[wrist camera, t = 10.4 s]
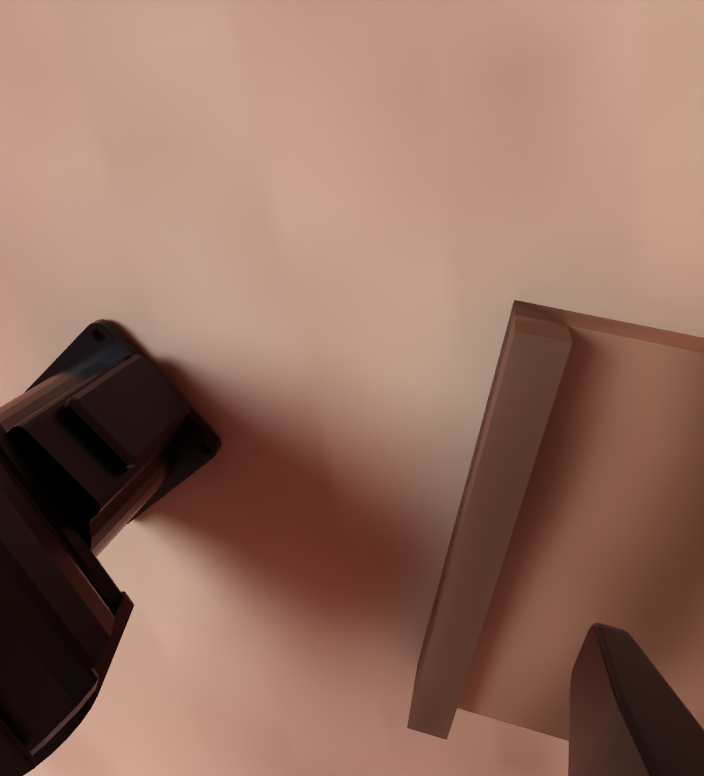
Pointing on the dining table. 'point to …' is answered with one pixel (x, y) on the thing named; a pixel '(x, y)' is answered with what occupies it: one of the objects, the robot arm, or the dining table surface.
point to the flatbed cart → (572, 523)
